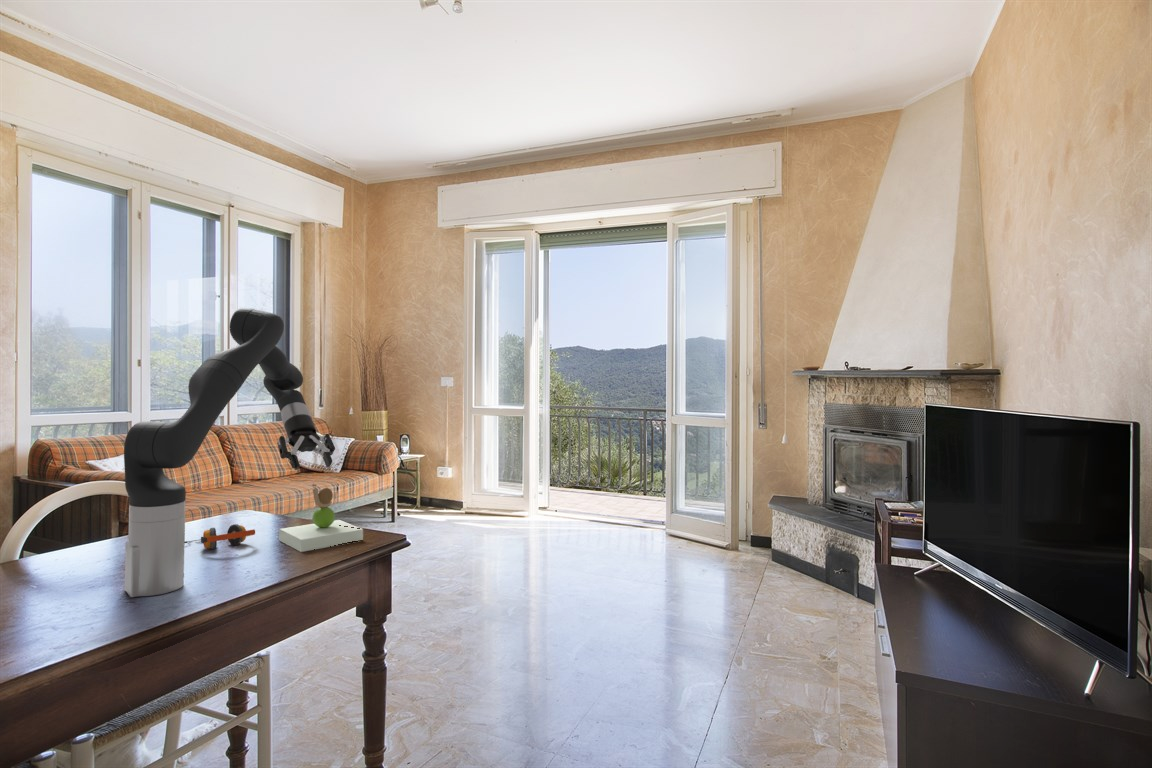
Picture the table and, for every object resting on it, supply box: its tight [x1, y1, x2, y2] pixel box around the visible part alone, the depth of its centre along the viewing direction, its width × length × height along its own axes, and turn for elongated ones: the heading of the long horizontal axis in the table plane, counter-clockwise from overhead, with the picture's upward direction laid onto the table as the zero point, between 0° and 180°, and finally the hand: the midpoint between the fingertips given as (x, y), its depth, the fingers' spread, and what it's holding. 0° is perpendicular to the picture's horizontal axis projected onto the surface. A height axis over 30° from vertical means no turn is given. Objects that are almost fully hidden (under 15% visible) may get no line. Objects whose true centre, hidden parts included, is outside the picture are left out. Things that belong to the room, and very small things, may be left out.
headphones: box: [185, 523, 256, 550], centre depth 151 cm, size 16×5×20 cm
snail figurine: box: [312, 483, 336, 528], centre depth 159 cm, size 5×6×12 cm
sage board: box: [278, 519, 364, 553], centre depth 157 cm, size 16×14×3 cm
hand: (313, 466), depth 164 cm, fingers open, 8 cm apart
